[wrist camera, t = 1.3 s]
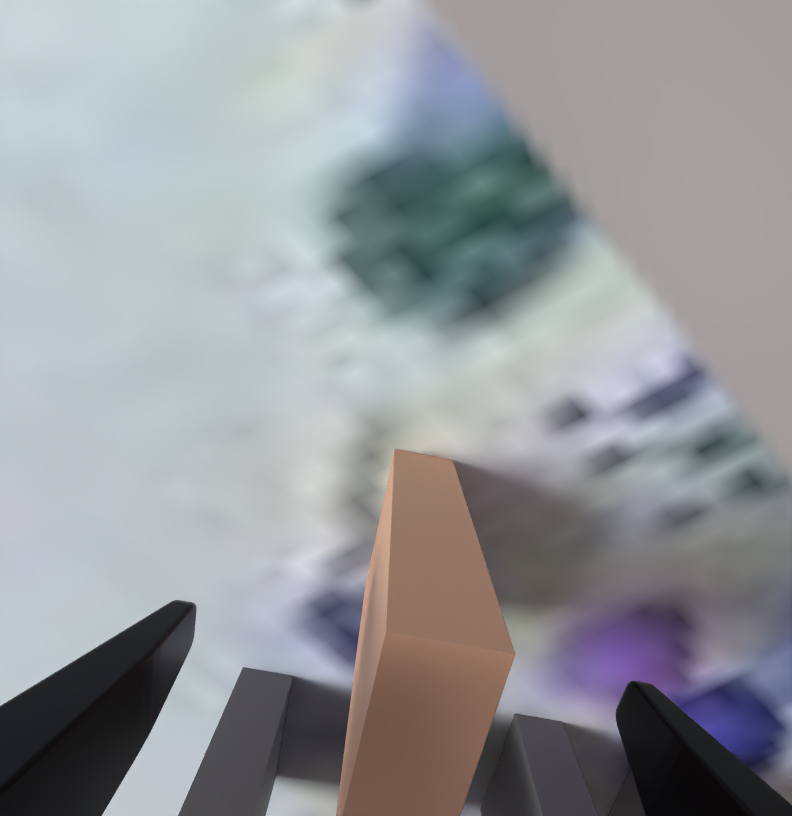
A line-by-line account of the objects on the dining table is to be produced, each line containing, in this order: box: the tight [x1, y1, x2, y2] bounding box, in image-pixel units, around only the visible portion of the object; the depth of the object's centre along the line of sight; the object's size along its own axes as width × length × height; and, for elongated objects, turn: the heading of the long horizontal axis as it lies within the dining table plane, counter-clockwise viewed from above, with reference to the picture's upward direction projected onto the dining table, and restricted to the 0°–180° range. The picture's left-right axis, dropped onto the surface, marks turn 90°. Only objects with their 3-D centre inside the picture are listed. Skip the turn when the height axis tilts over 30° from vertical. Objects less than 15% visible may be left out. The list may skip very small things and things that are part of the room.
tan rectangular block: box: [336, 449, 515, 816], centre depth 9 cm, size 2×5×7 cm, turn 169°
